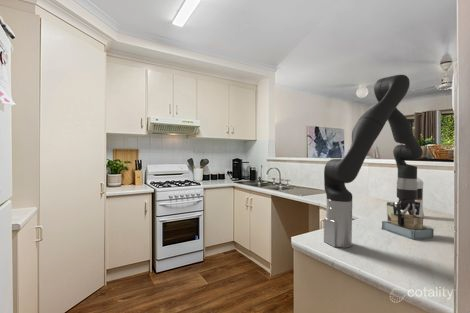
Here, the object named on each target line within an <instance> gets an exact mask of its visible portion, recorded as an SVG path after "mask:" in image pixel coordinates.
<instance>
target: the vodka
mask: <svg viewBox="0 0 470 313" xmlns="http://www.w3.org/2000/svg"><path fill="white" fill-rule="evenodd" d="M415 166H416V165H415ZM416 167H417V168H418V166H416ZM417 183H418V189H417V199H416V200H415V202H420V211H419V215H416V216H417V217H421V218H423V219H424V218H425V217H424V216H425V213H424V205H423V204H424V200H423V199H424V198H423V197H424V191H423V190H424V181H423V180H422V179H420V178H419V177H417ZM415 210H416V209H415ZM416 211H417V210H416ZM411 213H412V212H411ZM405 214H409V213H408V211H407V213H405Z"/></svg>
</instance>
